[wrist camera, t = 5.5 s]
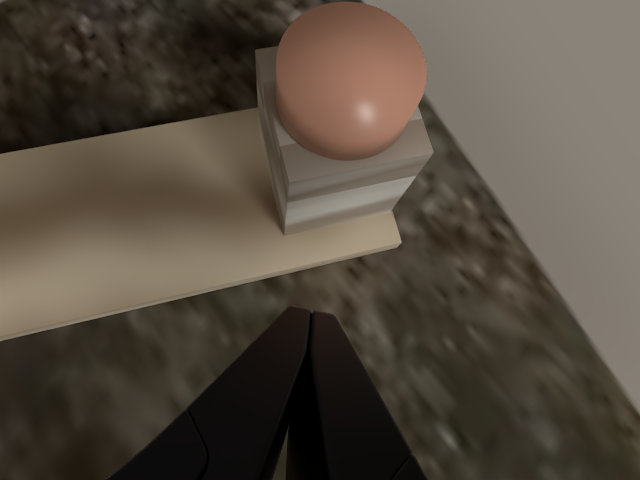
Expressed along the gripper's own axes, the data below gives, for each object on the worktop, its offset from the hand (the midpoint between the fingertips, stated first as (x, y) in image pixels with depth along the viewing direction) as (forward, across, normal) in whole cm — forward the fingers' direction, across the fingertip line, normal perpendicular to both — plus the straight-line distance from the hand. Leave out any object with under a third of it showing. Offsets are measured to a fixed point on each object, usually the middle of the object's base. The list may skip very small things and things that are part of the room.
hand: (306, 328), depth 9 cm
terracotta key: (+12, 0, 0) cm, 12 cm away
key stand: (+13, +8, +6) cm, 16 cm away
